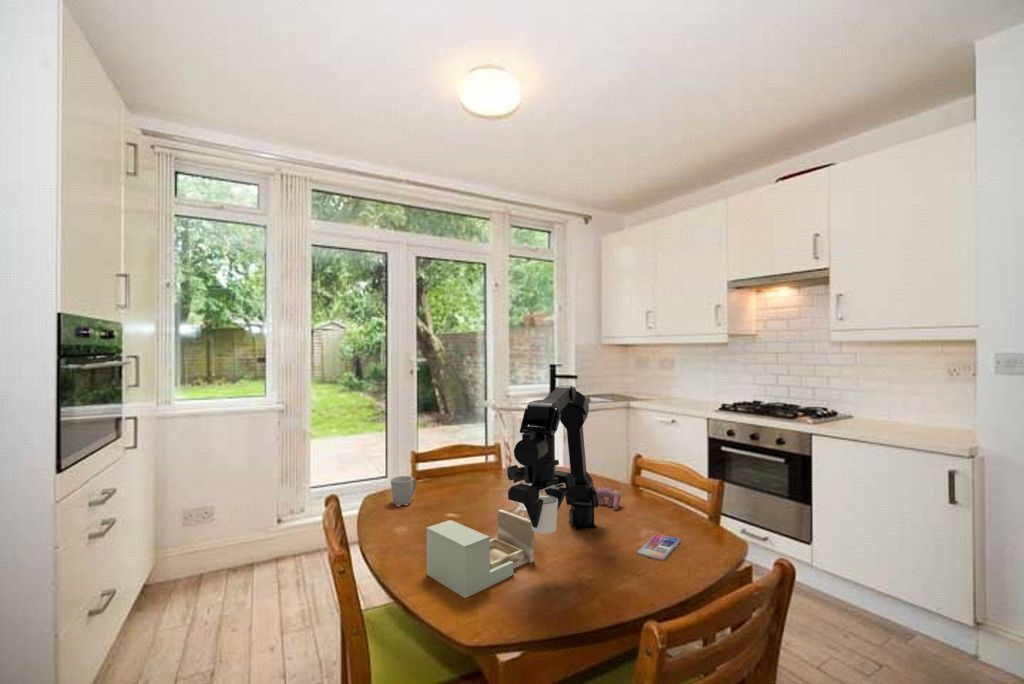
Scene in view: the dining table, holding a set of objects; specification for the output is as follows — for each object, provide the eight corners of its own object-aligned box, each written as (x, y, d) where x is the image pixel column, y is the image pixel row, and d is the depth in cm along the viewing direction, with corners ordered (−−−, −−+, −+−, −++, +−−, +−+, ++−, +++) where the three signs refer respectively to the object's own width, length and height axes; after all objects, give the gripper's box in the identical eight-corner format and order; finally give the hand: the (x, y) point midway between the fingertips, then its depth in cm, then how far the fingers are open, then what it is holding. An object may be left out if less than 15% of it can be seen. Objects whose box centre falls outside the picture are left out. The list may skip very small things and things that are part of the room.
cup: (386, 504, 159) (385, 479, 159) (408, 496, 167) (408, 473, 167) (401, 509, 154) (401, 483, 154) (423, 500, 162) (423, 476, 163)
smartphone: (635, 552, 119) (655, 533, 131) (635, 556, 119) (655, 536, 131) (664, 559, 115) (681, 538, 127) (664, 563, 115) (681, 542, 127)
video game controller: (620, 512, 153) (623, 491, 156) (616, 510, 150) (619, 488, 153) (592, 507, 158) (595, 487, 161) (587, 505, 155) (590, 484, 158)
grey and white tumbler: (558, 535, 104) (557, 504, 104) (527, 534, 105) (527, 503, 105) (558, 523, 111) (558, 494, 111) (530, 522, 112) (529, 493, 112)
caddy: (474, 555, 119) (473, 512, 119) (513, 575, 109) (513, 527, 109) (426, 574, 109) (426, 527, 109) (465, 598, 99) (464, 546, 99)
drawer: (501, 547, 124) (501, 509, 124) (534, 561, 115) (533, 521, 115) (461, 563, 115) (461, 522, 115) (493, 580, 106) (493, 536, 106)
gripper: (540, 444, 120) (540, 505, 120) (489, 458, 106) (490, 526, 106) (576, 450, 113) (576, 515, 113) (527, 466, 99) (528, 539, 99)
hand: (543, 523), depth 108 cm, fingers closed on grey and white tumbler, 6 cm apart
